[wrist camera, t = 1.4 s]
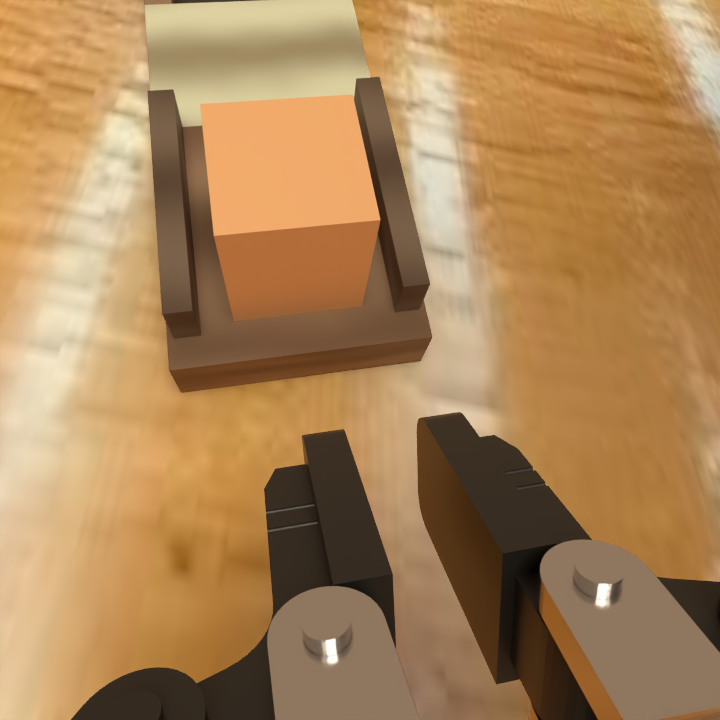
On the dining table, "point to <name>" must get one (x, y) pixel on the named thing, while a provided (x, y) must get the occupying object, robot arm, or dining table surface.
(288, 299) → the block
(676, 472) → the dining table surface
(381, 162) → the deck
